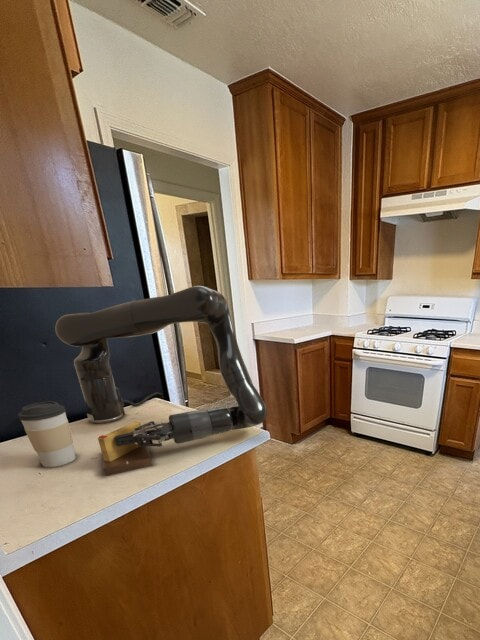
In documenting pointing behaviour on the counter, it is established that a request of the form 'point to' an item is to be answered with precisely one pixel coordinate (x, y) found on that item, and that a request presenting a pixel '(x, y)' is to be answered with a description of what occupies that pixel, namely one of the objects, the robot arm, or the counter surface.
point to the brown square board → (128, 461)
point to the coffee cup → (48, 432)
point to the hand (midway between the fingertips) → (115, 441)
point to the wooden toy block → (109, 444)
